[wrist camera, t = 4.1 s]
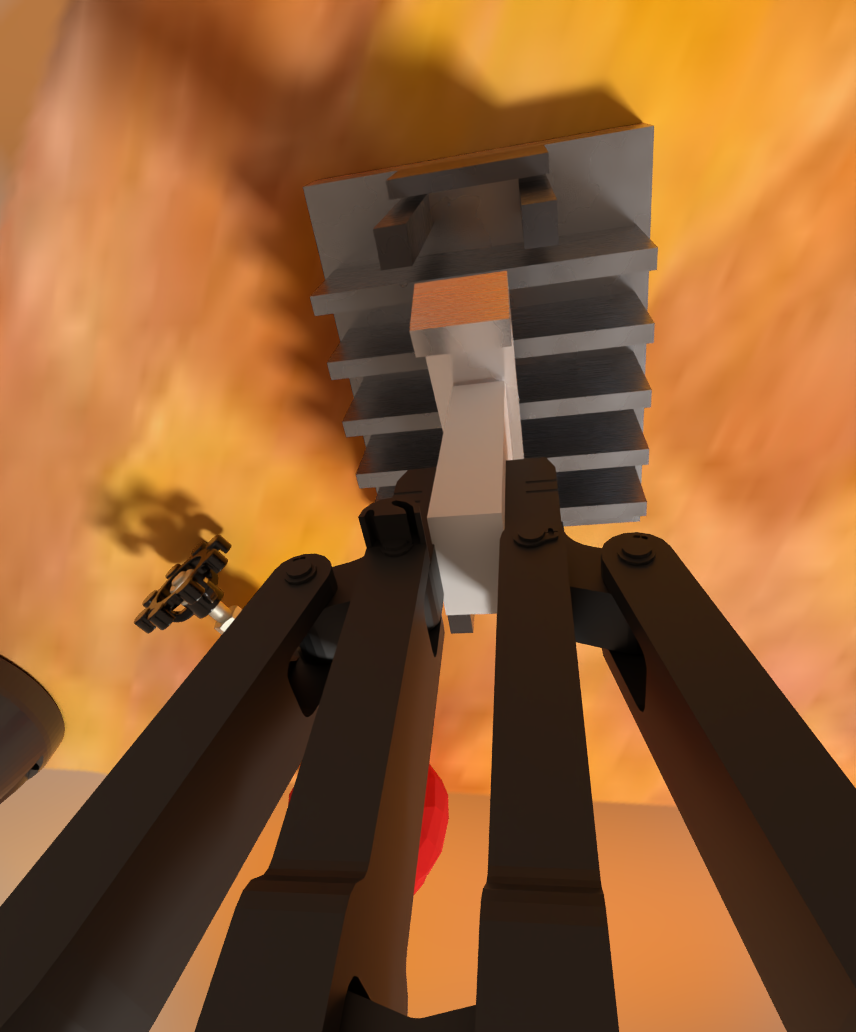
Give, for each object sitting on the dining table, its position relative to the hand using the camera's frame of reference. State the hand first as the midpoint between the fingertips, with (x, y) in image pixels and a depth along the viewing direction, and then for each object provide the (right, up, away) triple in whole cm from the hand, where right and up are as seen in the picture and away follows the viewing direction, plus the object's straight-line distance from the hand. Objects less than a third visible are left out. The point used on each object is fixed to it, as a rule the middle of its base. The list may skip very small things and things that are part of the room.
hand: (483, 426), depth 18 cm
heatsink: (+1, +5, +11) cm, 12 cm away
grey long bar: (+1, -1, +4) cm, 4 cm away
